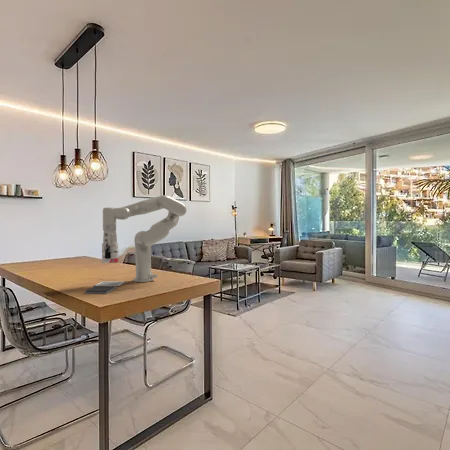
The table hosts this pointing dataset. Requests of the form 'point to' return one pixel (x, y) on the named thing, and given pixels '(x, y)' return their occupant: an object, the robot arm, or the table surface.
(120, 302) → the table surface
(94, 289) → the pad
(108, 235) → the robot arm
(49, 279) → the table surface
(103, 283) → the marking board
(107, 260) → the ink box
